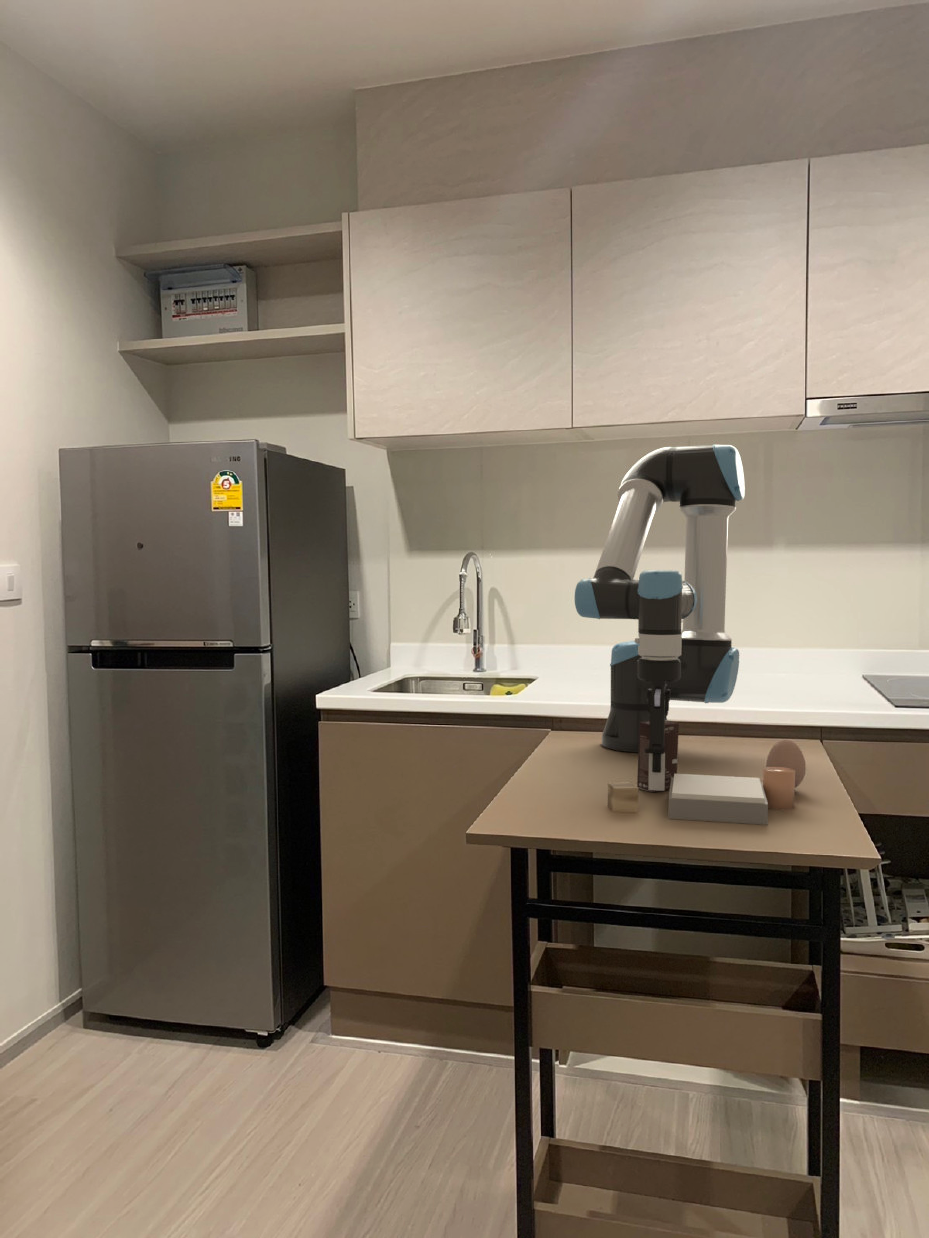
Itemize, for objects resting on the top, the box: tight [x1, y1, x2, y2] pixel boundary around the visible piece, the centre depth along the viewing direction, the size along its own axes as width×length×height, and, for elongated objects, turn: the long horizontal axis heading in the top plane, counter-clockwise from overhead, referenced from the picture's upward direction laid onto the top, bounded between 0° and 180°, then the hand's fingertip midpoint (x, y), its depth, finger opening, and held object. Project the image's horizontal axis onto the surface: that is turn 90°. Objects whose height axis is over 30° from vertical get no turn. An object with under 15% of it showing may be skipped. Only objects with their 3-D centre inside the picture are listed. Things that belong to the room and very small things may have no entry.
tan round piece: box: [762, 766, 796, 811], centre depth 160 cm, size 5×5×6 cm
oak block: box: [607, 781, 639, 813], centre depth 158 cm, size 4×4×4 cm
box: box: [636, 719, 680, 793], centre depth 171 cm, size 6×4×12 cm
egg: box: [765, 738, 807, 789], centre depth 170 cm, size 7×7×9 cm
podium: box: [667, 773, 769, 826], centre depth 158 cm, size 15×15×4 cm
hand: (657, 783), depth 172 cm, fingers open, 9 cm apart
